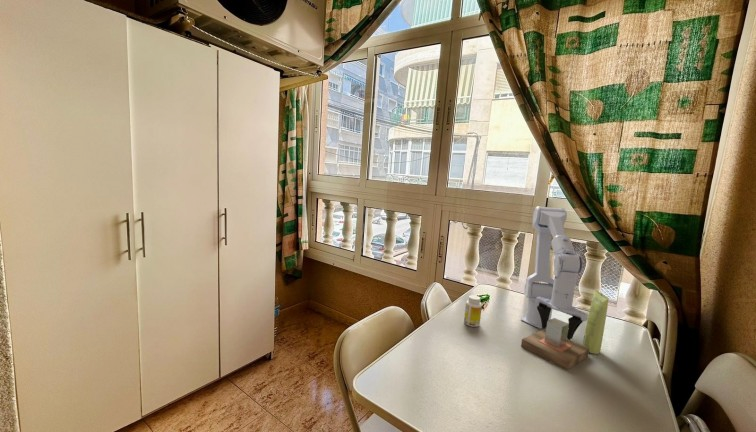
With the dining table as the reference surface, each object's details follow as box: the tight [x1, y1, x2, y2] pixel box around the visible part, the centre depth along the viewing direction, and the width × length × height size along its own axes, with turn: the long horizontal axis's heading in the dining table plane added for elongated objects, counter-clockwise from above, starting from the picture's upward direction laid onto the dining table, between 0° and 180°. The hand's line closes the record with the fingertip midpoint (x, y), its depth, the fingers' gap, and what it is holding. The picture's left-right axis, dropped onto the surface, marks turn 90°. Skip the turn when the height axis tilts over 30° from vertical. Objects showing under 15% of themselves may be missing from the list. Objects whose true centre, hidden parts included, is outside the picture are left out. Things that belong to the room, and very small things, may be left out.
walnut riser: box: [520, 328, 590, 371], centre depth 99 cm, size 14×14×3 cm
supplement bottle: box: [463, 294, 483, 328], centre depth 113 cm, size 6×6×10 cm
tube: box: [581, 288, 610, 355], centre depth 100 cm, size 6×5×20 cm
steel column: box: [544, 317, 569, 348], centre depth 98 cm, size 4×4×7 cm
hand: (556, 333), depth 98 cm, fingers open, 7 cm apart
